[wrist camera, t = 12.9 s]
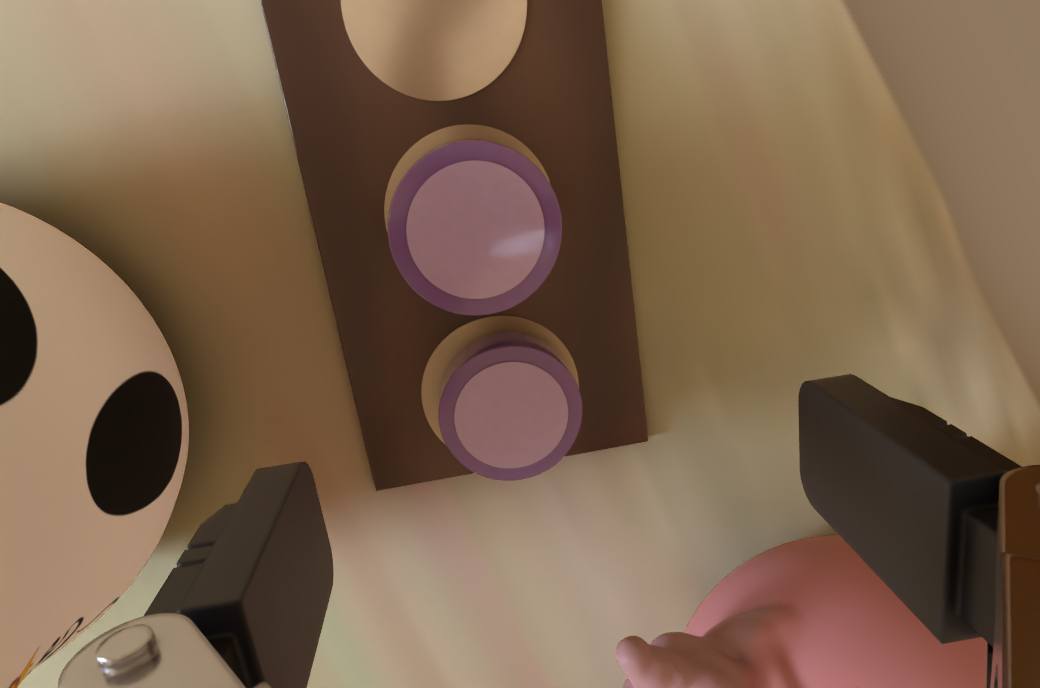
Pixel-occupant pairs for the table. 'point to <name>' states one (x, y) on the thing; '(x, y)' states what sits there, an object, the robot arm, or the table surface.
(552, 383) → the dish top
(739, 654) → the pink piggy bank
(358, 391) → the brown board with circles
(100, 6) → the table surface
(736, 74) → the table surface
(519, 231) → the purple stepped cylinder
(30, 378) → the white black spotted canister
